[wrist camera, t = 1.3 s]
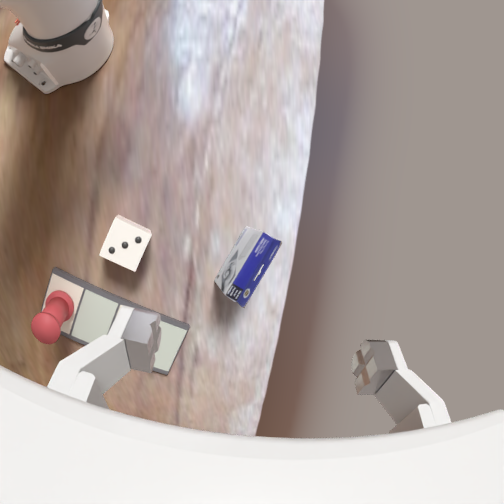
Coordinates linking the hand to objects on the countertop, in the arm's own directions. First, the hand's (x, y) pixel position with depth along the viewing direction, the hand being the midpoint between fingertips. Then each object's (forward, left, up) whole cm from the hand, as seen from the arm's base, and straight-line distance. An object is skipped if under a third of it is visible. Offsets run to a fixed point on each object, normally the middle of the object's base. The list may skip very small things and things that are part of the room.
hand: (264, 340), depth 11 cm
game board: (-3, -19, -40) cm, 45 cm away
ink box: (+12, +1, -40) cm, 42 cm away
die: (-6, -4, -40) cm, 41 cm away
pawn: (-12, -19, -39) cm, 45 cm away
